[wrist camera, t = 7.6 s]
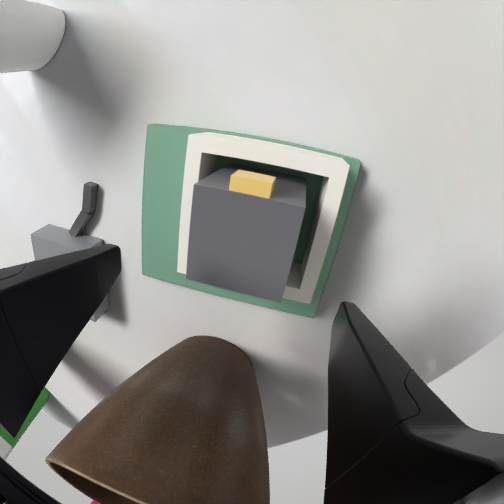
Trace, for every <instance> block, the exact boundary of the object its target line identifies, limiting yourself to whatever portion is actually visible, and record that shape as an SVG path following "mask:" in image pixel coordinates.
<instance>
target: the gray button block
mask: <svg viewBox="0 0 504 504" xmlns="http://www.w3.org/2000/svg"><path fill="white" fill-rule="evenodd" d="M97 187H98V184H96V183H93V182H88V183H86V184H84V191H83V206H82V211H81V212H80V214H79V215H78V217H77V219H76V220H75V222H74V224H73V226H72V227H71V229H70V230H67V229H64V228H60V227H57V226H53V225H50V224H48V225H46V226H45V227H43V228H41V229H39V230H37V231H36V232H34V233H32V234H31V239H32V245H33V251H34V256H35V261H36V260H41V259H45V258H49V257H53V256H57V255H61V254H66V253H70V252H74V251H79V250H83V249H88V248H92V247H97V246H101V245H103V241H102V239H99V238H96V237H92V236H88V235H85V234H81V233H82V231H83V229H84V228H85V226H86V225H87V223H88V222H89V220H90V219H91V217H92V216H93V214H94V213H95V212H94V211H95V209H96V197H97ZM109 307H110V306H109V299H108V293H107V295H106V297H105V298H104V300H103V302H102V303H101V305H100V306H99V308H98V309H97V310H96V312H95V313H94V314H93V316H92V317H91V318H90V320H92V321H94V322H96V321H97V320H98V319H99V318H100V316H101V315H102V314H103V313H104V312H105V311H106V310H107V309H108V308H109Z"/></svg>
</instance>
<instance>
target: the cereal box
mask: <svg viewBox="0 0 504 504" xmlns="http://www.w3.org/2000/svg"><path fill="white" fill-rule="evenodd" d="M49 395H50V392H49V391H48V390H47V389H46V388H45V387H44V389H43V390H42V391H41V394H40V395H39V397H38V399H37V400H36V402H35V404H34V405H33V407H32V409H31V411H30V412H29V414H28V416H27V418H26V419H25V421H24V423H23V425H22V427H21V429H20V430H19V432H18V434H17V436H16V437H15V438H13V437H11V436H10V435H9V434H8V433H7V432H6V431H5V430H3V429H2V428H1V427H0V456H1V457H2V458H3V459H4V460H6V458H7V457H8V455H9V454H10V452H11V451H12V449H13V448H14V446H15V445H16V443H17V442H18V441H19V439H20V438H21V436H22V435H23V433H24V432H25V431H26V429H27V428H28V426H29V425H30V424H31V422H32V421H33V419H34V418H35V417H36V415H37V414H38V413H39V411H40V410H41V409H42V407H43V406H44V405H45V403H46V402H47V400H48V398H49Z"/></svg>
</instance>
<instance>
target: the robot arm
mask: <svg viewBox="0 0 504 504" xmlns="http://www.w3.org/2000/svg"><path fill="white" fill-rule="evenodd" d="M120 272H121V250H120V248H119V246H116V245H113V244H106V245H101V246H97V247H92V248H88V249H83V250H79V251H74V252H70V253H66V254H61V255H57V256H53V257H49V258H45V259H41V260H36V261H32V262H29V263H24V264H20V265H16V266H12V267H8V268H3V269H0V427H1V428H2V429H3V430H5V431H6V432H7V433H8V434H9V435H10V436H11V437H13V438H15V437H16V436H17V434H18V432H19V430H20V429H21V427H22V425H23V423H24V421H25V419H26V418H27V416H28V414H29V412H30V411H31V409H32V407H33V405H34V404H35V402H36V400H37V399H38V397H39V395H40V394H41V391H42V390H43V389H44V387H45V385H46V384H47V382H48V380H49V379H50V377H51V376H52V374H53V373H54V371H55V369H56V368H57V366H58V365H59V363H60V362H61V360H62V359H63V357H64V356H65V354H66V353H67V351H68V350H69V348H70V347H71V345H72V344H73V342H74V341H75V340H76V338H77V337H78V335H79V334H80V332H81V331H82V330H83V328H84V327H85V325H86V324H87V323H88V321H89V320H90V318H91V317H92V316H93V314H94V313H95V312H96V310H97V309H98V308H99V306H100V305H101V303H102V302H103V300H104V298H105V297H106V295H107V293H108V292H109V290H110V288H111V287H112V285H113V284H114V282H115V280H116V279H117V277H118V275H119V274H120ZM410 368H411V367H410V366H409V364H408V363H407V362H406V361H405V360H404V359H403V357H402V356H401V355H400V354H399V353H398V352H397V351H396V349H395V348H394V347H393V346H392V345H391V344H390V343H389V342H388V340H387V339H386V338H385V337H384V336H383V335H382V334H381V333H380V331H379V330H378V329H377V328H376V327H375V326H374V325H373V324H372V323H371V321H370V320H369V319H368V318H367V317H366V316H365V315H364V314H363V313H362V312H361V310H360V309H359V308H358V307H357V306H356V305H355V304H353V303H349V302H342V303H341V304H340V307H339V309H338V312H337V314H336V317H335V319H334V322H333V325H332V334H331V344H330V354H329V364H328V442H327V443H328V444H327V465H326V481H325V488H326V489H325V494H324V504H504V434H497V433H489V432H482V431H478V430H475V429H472V428H470V427H469V426H467V425H466V424H465V423H463V422H462V421H461V420H460V419H459V418H458V417H457V416H456V415H455V414H454V413H453V412H452V411H451V410H450V409H449V408H448V407H447V406H446V405H445V404H444V403H443V402H442V401H441V400H440V399H439V397H438V396H437V395H435V393H433V391H432V390H431V389H430V388H429V387H428V386H427V385H426V384H425V383H424V382H423V380H422V379H421V378H420V377H419V376H418V375H417V374H416V372H415V371H414V370H413V369H412V368H411V369H410ZM3 503H5V504H61V503H60V502H58V501H57V500H55V499H54V498H52V497H51V496H49V495H48V494H46V493H45V492H44V491H42V490H41V489H39V488H38V487H37V486H35V485H34V484H33V483H32V482H30V481H29V480H28V479H26V478H25V477H24V476H23V475H21V474H20V473H19V472H18V471H17V470H15V469H14V468H13V467H12V466H11V465H10V464H8V463H7V462H6V461H5V460H4V459H3V458H2V457H1V456H0V504H3Z"/></svg>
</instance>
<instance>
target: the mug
mask: <svg viewBox="0 0 504 504" xmlns="http://www.w3.org/2000/svg"><path fill="white" fill-rule="evenodd" d="M64 31H65V16H64V13H63V12H62V11H61V10H60V9H58V8H54V7H51V6H47V5H43V4H40V3H35V2H30V1H25V0H0V73H7V72H18V71H34V70H38V69H40V68H42V67H44V66H45V65H46V64H47V63H48V62H49V61H50V60H51V59H52V57H53V56H54V54H55V53H56V51H57V49H58V48H59V46H60V43H61V41H62V38H63V35H64Z"/></svg>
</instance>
